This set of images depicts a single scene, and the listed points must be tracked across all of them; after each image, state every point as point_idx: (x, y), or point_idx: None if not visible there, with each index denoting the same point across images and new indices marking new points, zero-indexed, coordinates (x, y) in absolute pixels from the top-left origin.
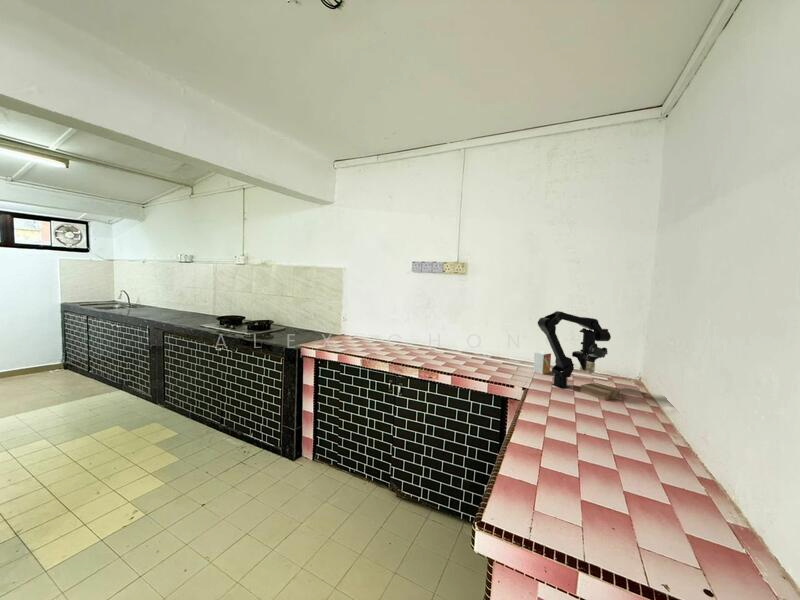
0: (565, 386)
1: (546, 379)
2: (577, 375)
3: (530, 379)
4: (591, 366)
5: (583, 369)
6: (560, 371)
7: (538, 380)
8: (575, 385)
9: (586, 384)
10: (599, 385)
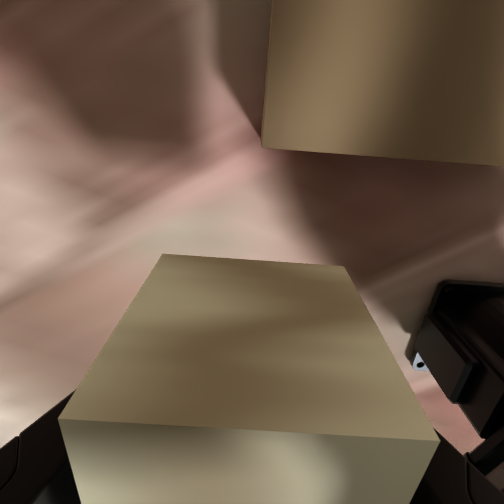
0: (492, 293)
1: None
2: (37, 406)
3: None
4: (276, 347)
5: None
6: (477, 467)
7: (461, 446)
8: None
9: (480, 152)
10: (368, 26)
